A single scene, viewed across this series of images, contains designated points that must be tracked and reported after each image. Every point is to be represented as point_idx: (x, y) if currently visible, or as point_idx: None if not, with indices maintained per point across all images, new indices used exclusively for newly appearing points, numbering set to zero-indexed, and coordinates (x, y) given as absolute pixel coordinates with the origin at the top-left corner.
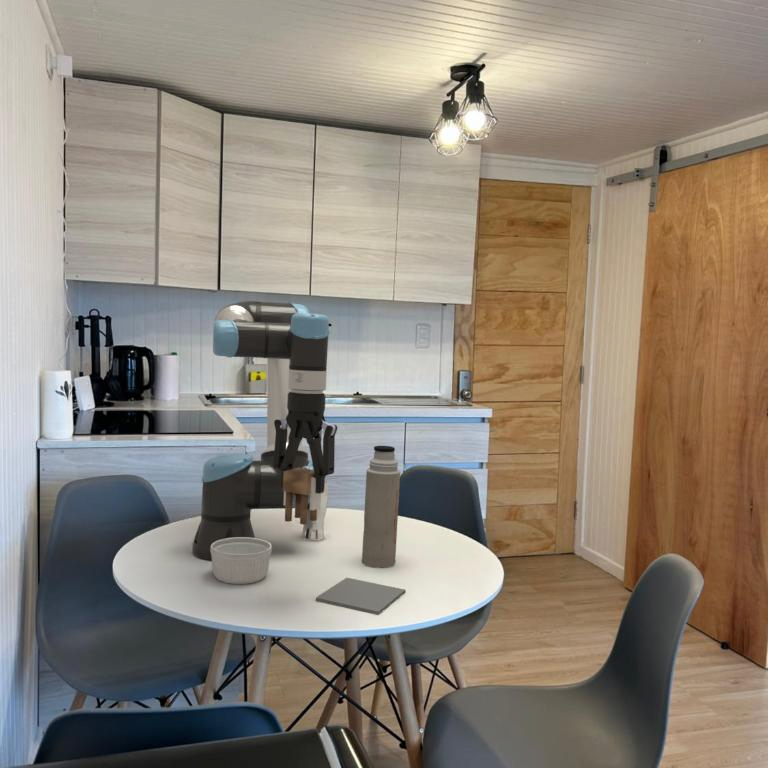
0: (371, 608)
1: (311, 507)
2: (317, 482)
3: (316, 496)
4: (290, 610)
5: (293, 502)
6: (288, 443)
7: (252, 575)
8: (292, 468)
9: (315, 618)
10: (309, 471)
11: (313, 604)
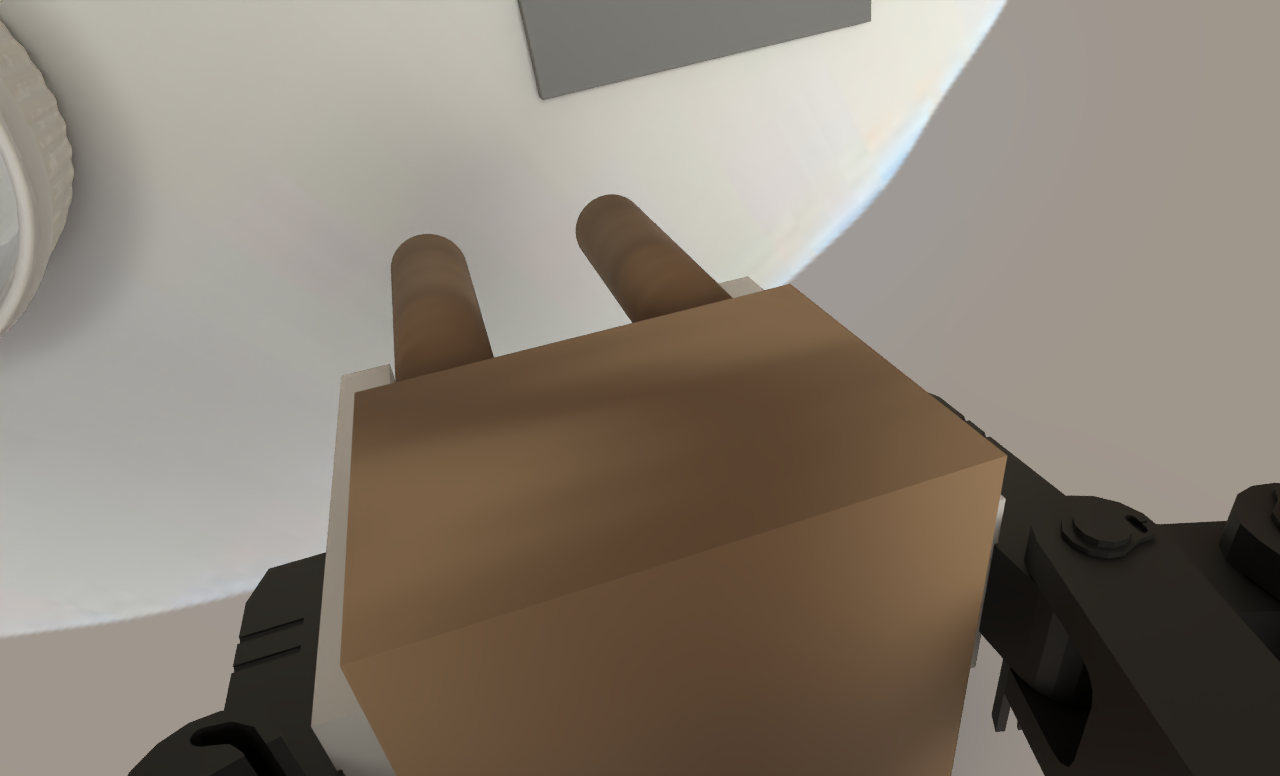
0: (829, 11)
1: None
2: None
3: None
4: (540, 272)
5: (393, 381)
6: None
7: (69, 190)
8: (239, 755)
9: None
10: (840, 683)
11: (566, 144)
